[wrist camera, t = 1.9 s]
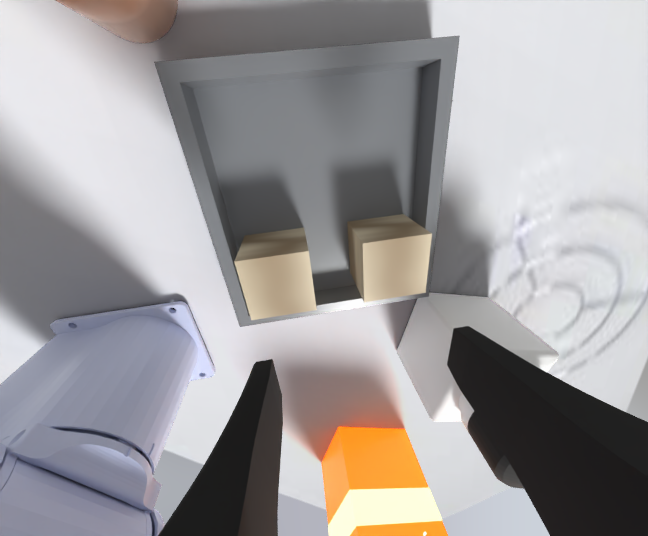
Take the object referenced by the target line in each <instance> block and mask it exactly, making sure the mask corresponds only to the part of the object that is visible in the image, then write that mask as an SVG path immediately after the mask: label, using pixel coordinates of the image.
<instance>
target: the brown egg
mask: <svg viewBox="0 0 648 536" xmlns="http://www.w3.org/2000/svg"><path fill="white" fill-rule="evenodd" d="M56 1H58V2H59V3H61V4H63V5H65V6H66V7H68V8H70V9H72V10H73V11H75V12H77V13H78V14H80V15H82V16H84V17H85V18H87V19H89V20H91V21H92V22H94V23H96V24H97V25H99V26H101V27H103V28H104V29H106V30H108V31H110V32H111V33H113V34H115V35H117V36H118V37H120V38H122V39H125V40H127V41H131V42H135V43H150V42H154V41H156V40H158V39H160V38H162V37H163V36H164V35H165V34H166V33H167V32H168V31H169V30H170V28H171V26H172V25H173V23H174V20H175V17H176V13H177V7H178V0H56Z"/></svg>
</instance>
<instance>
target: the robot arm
mask: <svg viewBox="0 0 648 536" xmlns="http://www.w3.org/2000/svg"><path fill="white" fill-rule="evenodd" d="M171 308H175V309H176V310H172V309H171ZM75 324H76V325H75ZM50 327H51V329H52V330H53V332H54V333H55V334H56V336H55V337H54V338H52V339H51V340H50V341H49V342H48V343H47V344H46V345H44V346H43V347H42V348H41V349H40V350H39V351H38V352H37V353H35V354H34V355H33V356H32V357H31V358H30V359H29V360H27V361H26V362H25V363H24V364H23V365H22V366H21V367H19V368H18V369H17V370H16V371H15V372H14V373H13V374H12V375H10V376H9V377H8V378H7V379H6V380H5V381H4V382H2V383H1V384H0V536H278V533H277V532H278V530H277V529H278V528H277V507H278V487H279V472H280V457H281V442H282V426H283V417H282V394H281V390H280V386H279V382H278V379H277V375H276V371H275V367H274V364H273V360H272V359H271V360H266V361H260V362H256V363H255V364H254V366H253V368H252V371H251V374H250V376H249V378H248V381H247V383H246V385H245V388H244V390H243V392H242V394H241V397H240V399H239V401H238V403H237V405H236V407H235V409H234V411H233V413H232V415H231V417H230V419H229V421H228V423H227V425H226V427H225V429H224V431H223V432H222V434H221V436H220V438H219V440H218V442H217V443H216V445H215V447H214V449H213V451H212V453H211V454H210V456H209V458H208V459H207V461H206V463H205V464H204V466H203V468H202V469H201V471H200V473H199V474H198V476H197V478H196V479H195V481H194V482H193V484H192V486H191V487H190V489H189V490H188V492H187V493H186V495H185V497H184V498H183V499H182V501H181V502H180V504H179V506H178V507H177V509H176V510H175V511H174V513H173V514H172V516H171V518H170V519H169V520H168V522H167V523H166V525H164V521H163V518H162V516H161V514H160V512H159V511H157V510H156V509H155V508H154V506H155V503H156V500H157V497H158V494H159V491H160V489H161V484H160V483H159V482H157V481H156V480H155V479H154V478H153V474H154V472H155V469H156V467H157V464H158V462H159V459H160V456H161V454H162V451H163V449H164V446H165V443H166V441H167V438H168V436H169V433H170V431H171V428H172V425H173V423H174V420H175V418H176V415H177V412H178V410H179V407H180V405H181V402H182V399H183V397H184V394H185V392H186V389H187V386H188V384H189V381H192V380H197V379H203V378H209V377H212V376H214V374H215V368H214V366H213V364H212V361H211V359H210V357H209V354H208V352H207V350H206V347H205V345H204V343H203V340H202V338H201V335H200V333H199V331H198V328H197V326H196V324H195V321H194V319H193V317H192V314H191V312H190V310H189V307H188V305H187V304H186V303H185V302H182V301H177V302H171V303H164V304H158V305H151V306H144V307H138V308H131V309H124V310H118V311H111V312H104V313H98V314H91V315H85V316H78V317H71V318H65V319H58V320H55V321H54V322H53V323H52V324H51V325H50ZM447 366H448V368H449V370H450V372H451V374H452V376H453V378H454V379H455V381H456V383H457V385H458V387H459V389H460V390H461V392H462V393H463V395H464V396H465V398H466V399H467V401H468V402H469V404H470V405H471V407H472V408H473V410H474V411H475V412H476V414H477V415H478V417H479V418H480V420H481V421H482V423H483V424H484V425H485V427H486V428H487V430H488V431H489V433H490V434H491V436H492V437H493V439H494V440H495V441H496V443H497V444H498V446H499V447H500V449H501V450H502V452H503V453H504V455H505V456H506V458H507V460H508V461H509V463H510V464H511V466H512V468H513V470H514V471H515V473H516V475H517V477H518V478H519V480H520V482H521V484H522V485H523V487H524V489H525V490H526V492H527V494H528V496H529V498H530V499H531V501H532V503H533V505H534V507H535V508H536V510H537V512H538V514H539V516H540V517H541V519H542V521H543V523H544V525H545V527H546V528H547V530H548V532H549V534H550V536H648V422H646V421H644V420H642V419H639V418H637V417H635V416H633V415H630V414H628V413H626V412H624V411H622V410H620V409H617V408H615V407H613V406H611V405H609V404H607V403H605V402H603V401H601V400H599V399H597V398H595V397H593V396H591V395H588V394H586V393H584V392H582V391H581V390H579V389H577V388H575V387H573V386H571V385H569V384H567V383H565V382H563V381H562V380H560V379H558V378H556V377H554V376H552V375H551V374H549V373H547V372H545V371H543V370H542V369H540V368H538V367H536V366H535V365H533V364H531V363H529V362H528V361H526V360H524V359H523V358H521V357H519V356H518V355H516V354H514V353H513V352H511V351H509V350H508V349H506V348H504V347H503V346H501V345H499V344H498V343H496V342H494V341H493V340H491V339H489V338H488V337H486V336H485V335H483V334H481V333H480V332H478V331H476V330H474V329H473V328H471V327H469V326H465V327H459V328H454V329H453V334H452V340H451V345H450V350H449V356H448V361H447Z"/></svg>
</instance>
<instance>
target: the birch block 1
mask: <svg viewBox="0 0 648 536" xmlns="http://www.w3.org/2000/svg"><path fill="white" fill-rule="evenodd" d="M234 262H235V266H236V269H237V273H238V276H239V280H240V283H241V286H242V290H243V293H244V297H245V300H246V304H247V307H248V310H249V314H250V317H251V320H257V319H263V318H269V317H276V316H282V315H288V314H294V313H301V312H307V311H313V310H317V308H316V301H315V294H314V286H313V279H312V271H311V264H310V257H309V250H308V245H307V240H306V235H305V230H304V228H296V229H289V230H282V231H274V232H267V233H259V234H252V235H245V236H244V238H243V241H242V243H241V246H240V249H239V251H238V254H237V256H236V259H235V261H234Z"/></svg>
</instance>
